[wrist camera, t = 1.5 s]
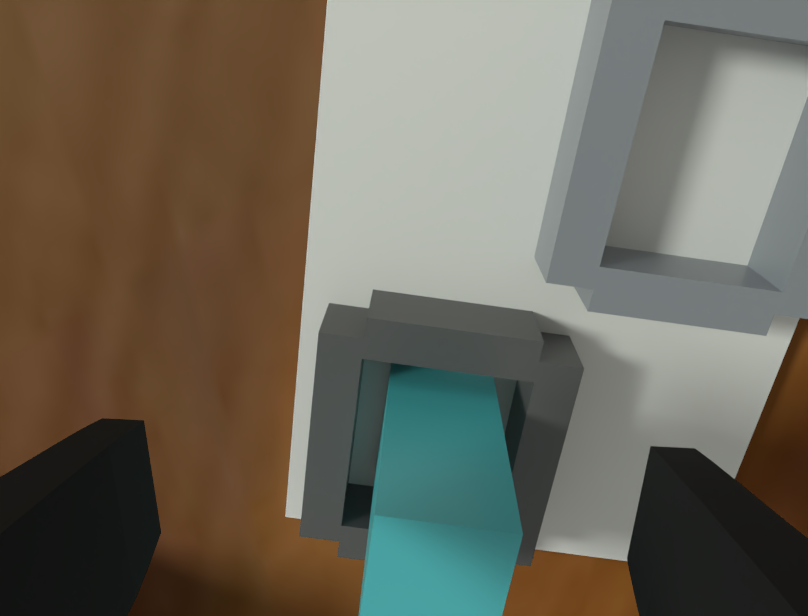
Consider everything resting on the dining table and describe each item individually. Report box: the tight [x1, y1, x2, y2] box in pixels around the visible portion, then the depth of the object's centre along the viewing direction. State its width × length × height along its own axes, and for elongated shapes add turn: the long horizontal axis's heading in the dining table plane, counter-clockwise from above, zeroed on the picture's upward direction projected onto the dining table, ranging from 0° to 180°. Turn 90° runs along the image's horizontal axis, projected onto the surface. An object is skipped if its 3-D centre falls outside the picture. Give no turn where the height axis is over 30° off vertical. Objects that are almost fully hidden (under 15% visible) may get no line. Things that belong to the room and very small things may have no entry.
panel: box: [285, 0, 808, 566], centre depth 18 cm, size 18×14×3 cm
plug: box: [358, 363, 523, 616], centre depth 17 cm, size 4×3×7 cm
